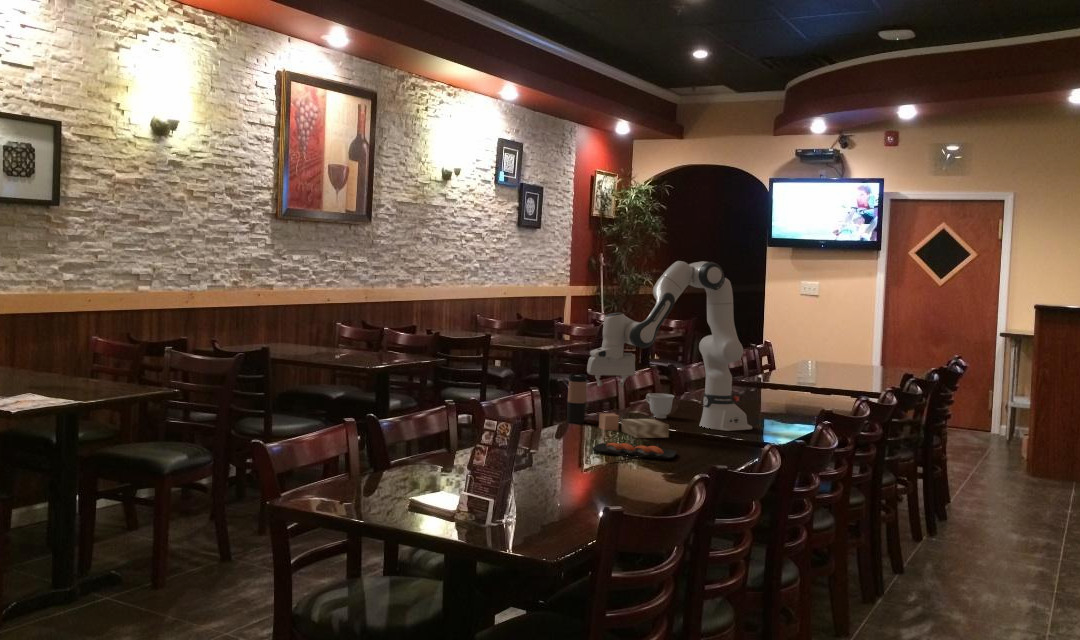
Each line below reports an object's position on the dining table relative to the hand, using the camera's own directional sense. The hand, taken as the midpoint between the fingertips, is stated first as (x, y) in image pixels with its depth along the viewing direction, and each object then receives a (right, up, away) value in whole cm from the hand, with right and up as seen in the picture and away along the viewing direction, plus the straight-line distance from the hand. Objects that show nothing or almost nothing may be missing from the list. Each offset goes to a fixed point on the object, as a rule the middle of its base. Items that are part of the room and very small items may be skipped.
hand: (610, 386), depth 385 cm
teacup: (+24, -17, +39) cm, 48 cm away
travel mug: (-14, -16, +13) cm, 25 cm away
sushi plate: (+3, -22, -56) cm, 60 cm away
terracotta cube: (-1, -18, +1) cm, 18 cm away
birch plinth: (+13, -19, -8) cm, 24 cm away
